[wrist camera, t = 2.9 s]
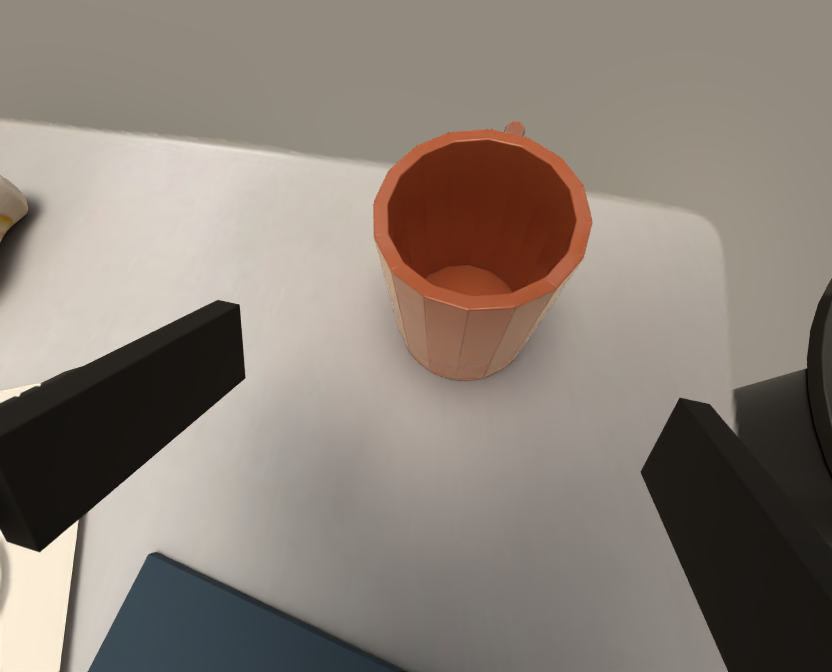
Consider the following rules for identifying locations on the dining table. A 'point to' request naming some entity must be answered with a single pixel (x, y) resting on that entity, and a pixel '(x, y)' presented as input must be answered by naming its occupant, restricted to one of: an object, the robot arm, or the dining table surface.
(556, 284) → the tall mug
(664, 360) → the dining table surface
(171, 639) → the mat
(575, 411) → the dining table surface
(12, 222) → the floral patterned cup
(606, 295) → the dining table surface
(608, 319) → the dining table surface
